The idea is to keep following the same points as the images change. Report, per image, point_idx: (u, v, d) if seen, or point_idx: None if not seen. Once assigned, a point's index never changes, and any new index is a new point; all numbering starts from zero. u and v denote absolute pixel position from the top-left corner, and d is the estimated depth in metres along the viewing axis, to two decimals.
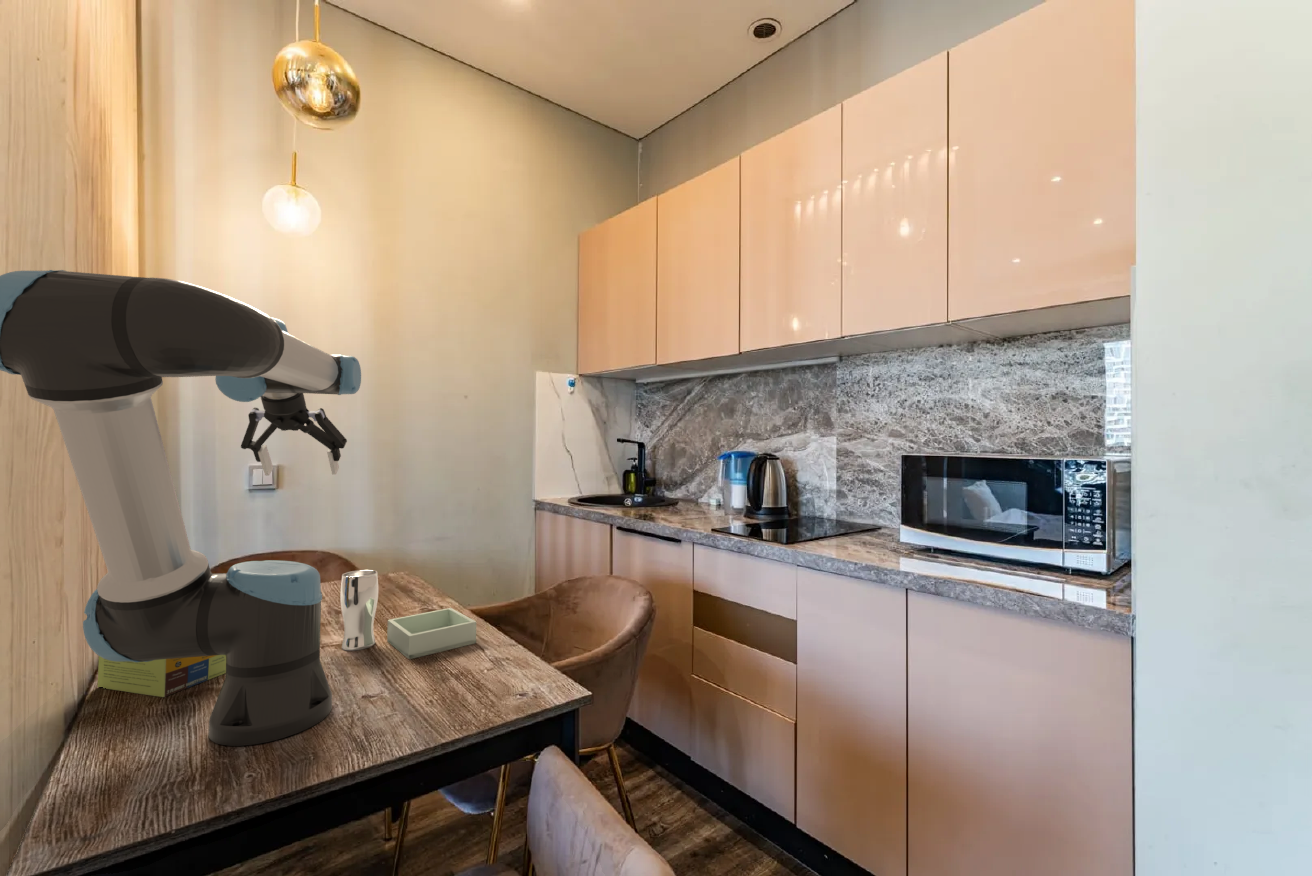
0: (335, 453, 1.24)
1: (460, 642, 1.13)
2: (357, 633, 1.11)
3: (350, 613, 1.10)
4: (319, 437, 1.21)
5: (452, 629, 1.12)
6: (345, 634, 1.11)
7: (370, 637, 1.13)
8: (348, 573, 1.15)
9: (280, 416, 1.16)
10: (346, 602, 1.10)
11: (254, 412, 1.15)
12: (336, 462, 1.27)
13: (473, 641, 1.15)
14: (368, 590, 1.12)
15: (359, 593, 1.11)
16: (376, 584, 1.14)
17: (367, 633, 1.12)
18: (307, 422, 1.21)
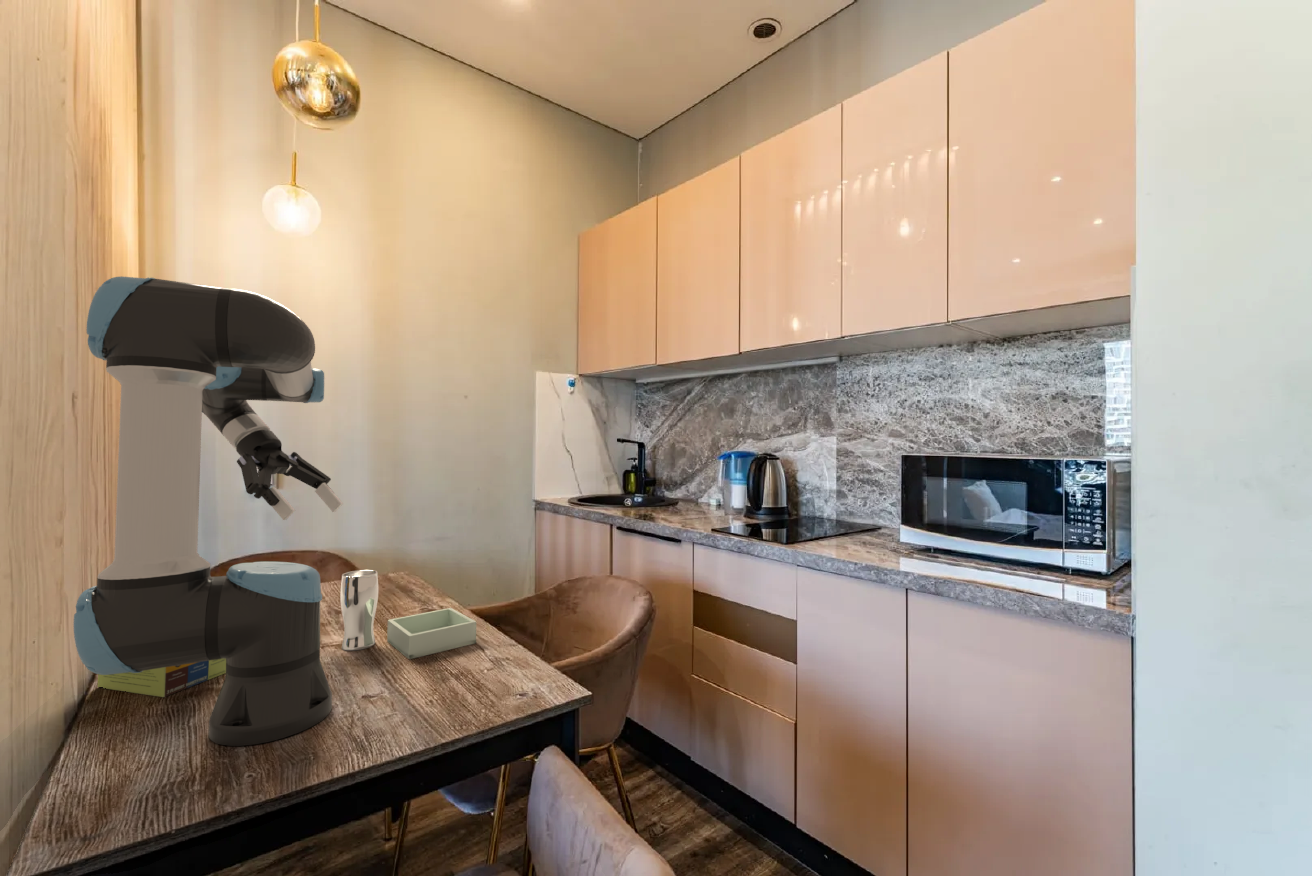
0: None
1: (460, 642, 1.13)
2: (357, 633, 1.11)
3: (350, 613, 1.10)
4: (308, 471, 1.22)
5: (452, 629, 1.12)
6: (345, 634, 1.11)
7: (370, 637, 1.13)
8: (348, 573, 1.15)
9: (269, 454, 1.16)
10: (346, 602, 1.10)
11: None
12: None
13: (473, 641, 1.15)
14: (368, 590, 1.12)
15: (359, 593, 1.11)
16: (376, 584, 1.14)
17: (367, 633, 1.12)
18: (285, 471, 1.20)
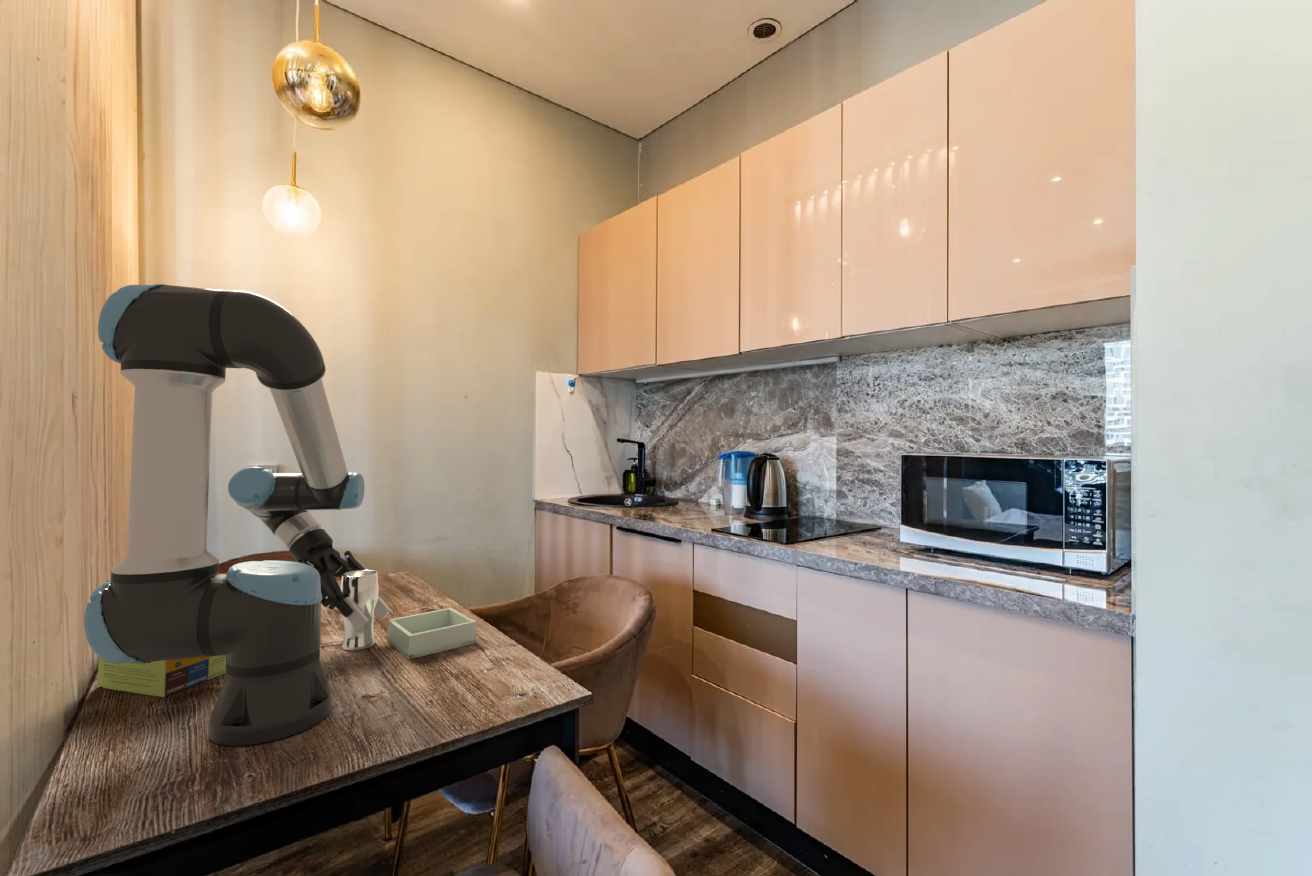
0: None
1: (460, 642, 1.13)
2: (357, 633, 1.11)
3: None
4: None
5: (452, 629, 1.12)
6: (345, 634, 1.11)
7: (370, 637, 1.13)
8: (348, 573, 1.15)
9: (319, 553, 1.14)
10: None
11: None
12: None
13: (473, 641, 1.15)
14: (368, 590, 1.12)
15: (359, 593, 1.11)
16: (376, 584, 1.14)
17: (367, 633, 1.12)
18: (335, 572, 1.17)
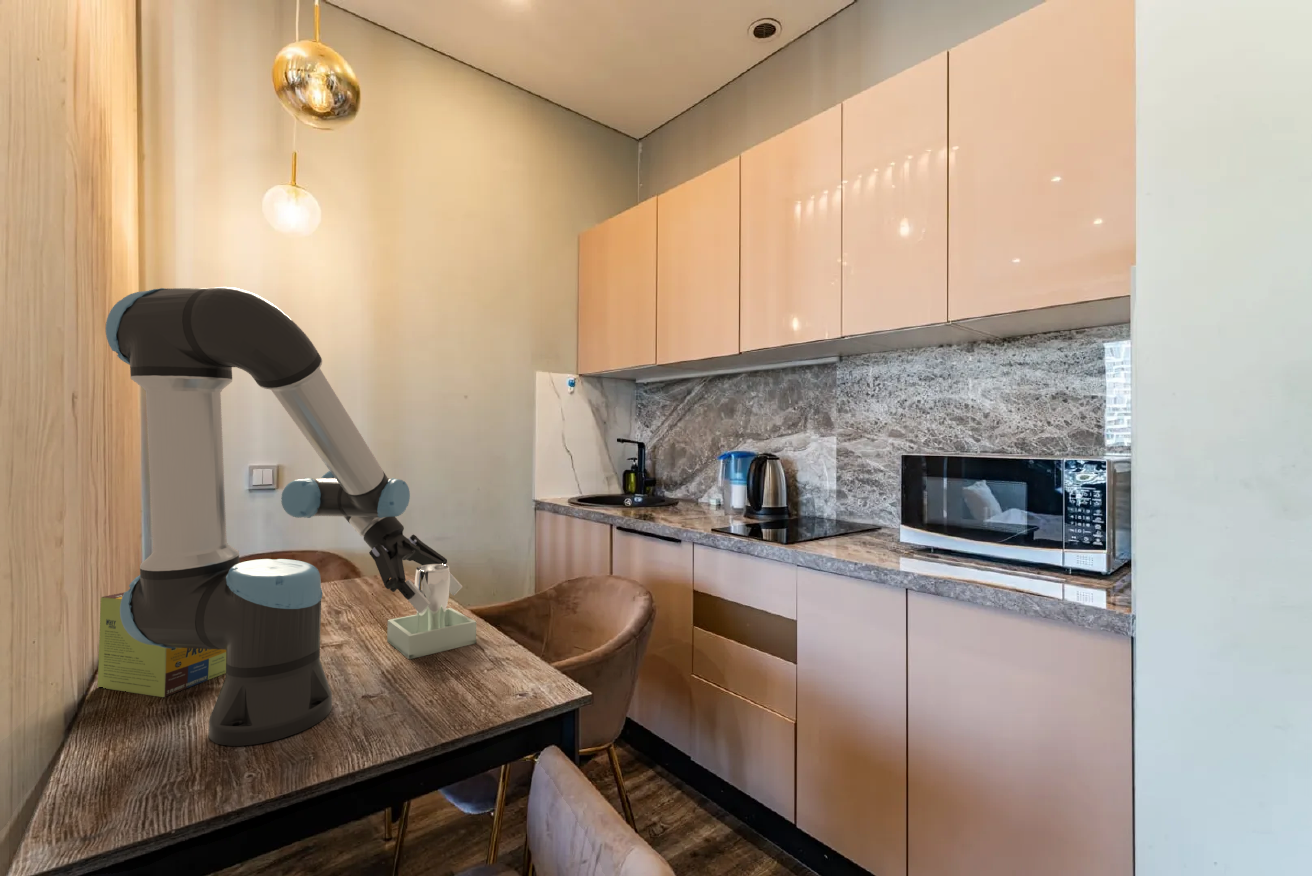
0: None
1: (460, 642, 1.13)
2: (430, 626, 1.13)
3: None
4: (428, 554, 1.22)
5: (452, 629, 1.12)
6: (419, 627, 1.13)
7: None
8: (421, 567, 1.16)
9: (395, 542, 1.16)
10: None
11: None
12: None
13: (473, 641, 1.15)
14: (442, 584, 1.14)
15: (434, 586, 1.13)
16: (448, 578, 1.16)
17: (440, 626, 1.14)
18: None
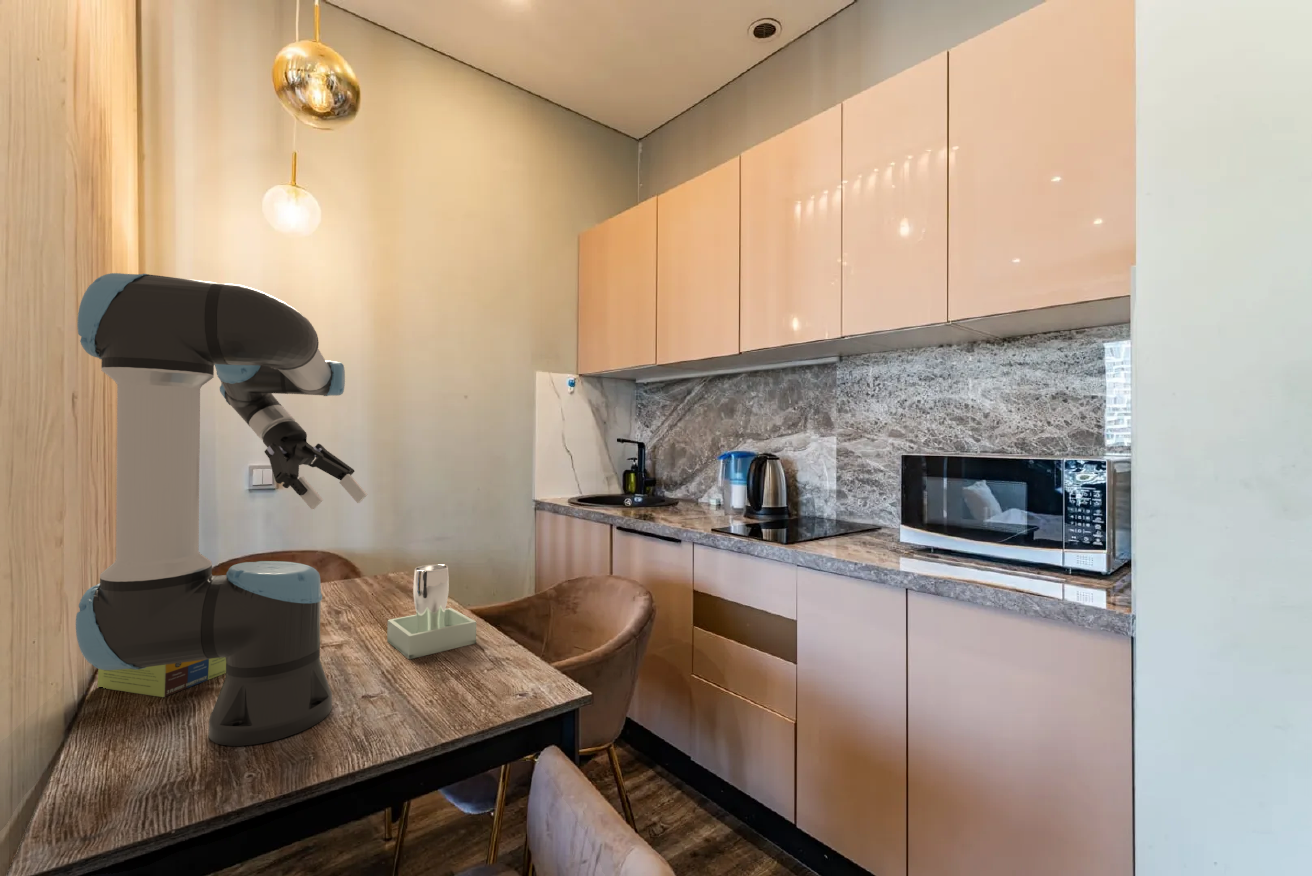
0: None
1: (460, 642, 1.13)
2: (430, 626, 1.13)
3: (424, 606, 1.12)
4: (332, 462, 1.23)
5: (452, 629, 1.12)
6: (418, 627, 1.13)
7: None
8: (419, 567, 1.17)
9: None
10: (420, 595, 1.12)
11: None
12: None
13: (473, 641, 1.15)
14: (441, 584, 1.14)
15: (433, 586, 1.13)
16: (447, 578, 1.16)
17: (439, 626, 1.14)
18: (311, 462, 1.21)
